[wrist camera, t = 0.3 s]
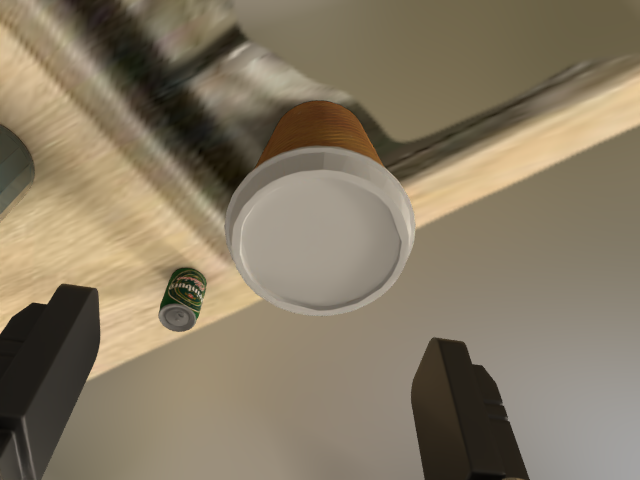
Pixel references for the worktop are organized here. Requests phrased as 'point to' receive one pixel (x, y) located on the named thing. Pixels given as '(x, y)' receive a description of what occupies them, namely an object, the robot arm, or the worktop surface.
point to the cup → (13, 171)
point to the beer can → (182, 300)
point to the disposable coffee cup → (319, 216)
